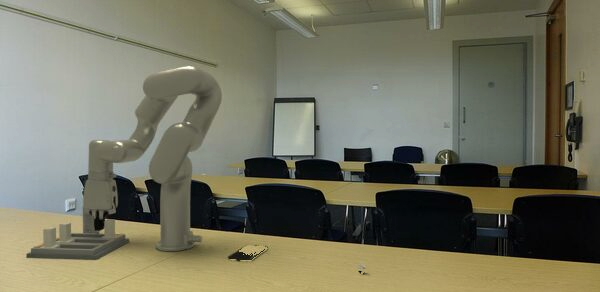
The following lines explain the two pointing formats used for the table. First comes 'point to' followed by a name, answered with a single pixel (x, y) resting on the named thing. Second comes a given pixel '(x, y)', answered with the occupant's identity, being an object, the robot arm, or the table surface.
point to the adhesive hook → (362, 266)
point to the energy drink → (88, 223)
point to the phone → (243, 257)
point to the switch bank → (80, 247)
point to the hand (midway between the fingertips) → (99, 229)
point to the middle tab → (65, 233)
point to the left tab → (49, 238)
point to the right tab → (109, 228)
